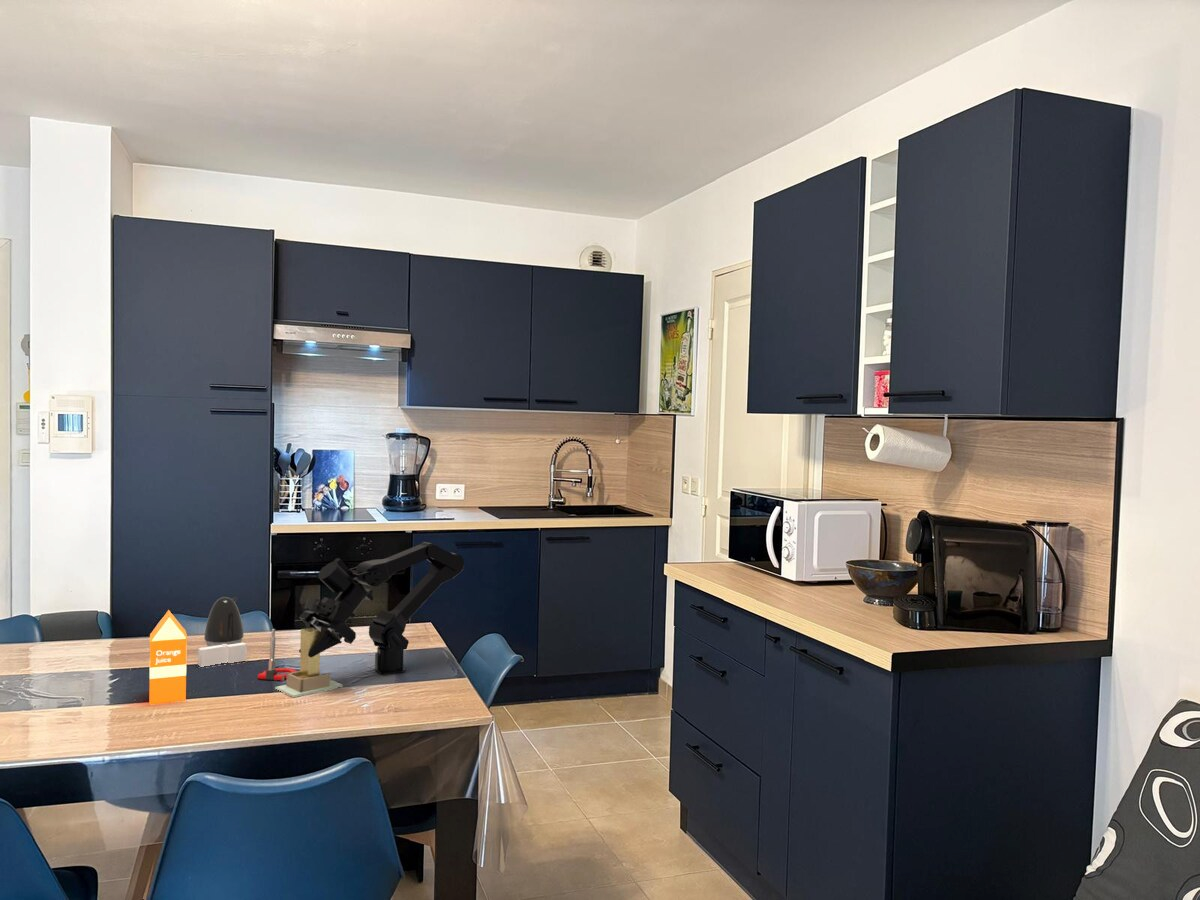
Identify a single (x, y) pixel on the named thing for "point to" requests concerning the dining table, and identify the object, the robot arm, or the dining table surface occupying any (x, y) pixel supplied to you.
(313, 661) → the gold square pillar
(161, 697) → the orange juice
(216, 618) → the black rounded cone
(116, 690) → the dining table surface
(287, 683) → the pale green slotted base
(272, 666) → the tow hook
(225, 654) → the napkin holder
